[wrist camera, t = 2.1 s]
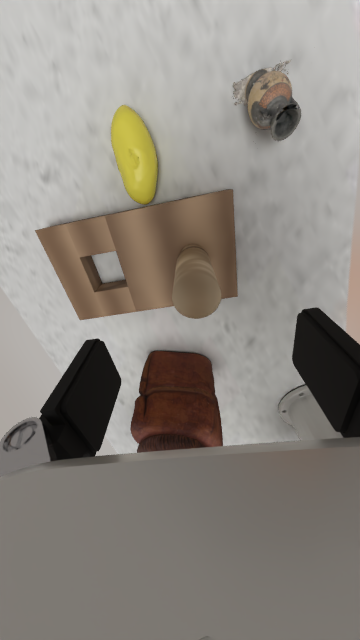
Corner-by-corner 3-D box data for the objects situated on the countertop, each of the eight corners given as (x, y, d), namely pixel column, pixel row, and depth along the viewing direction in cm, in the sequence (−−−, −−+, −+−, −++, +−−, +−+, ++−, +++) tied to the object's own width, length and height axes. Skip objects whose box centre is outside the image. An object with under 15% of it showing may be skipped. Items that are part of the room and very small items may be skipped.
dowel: (206, 238, 24) (219, 270, 14) (209, 269, 26) (222, 314, 16) (174, 244, 24) (167, 278, 15) (180, 274, 26) (177, 321, 17)
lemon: (129, 205, 25) (120, 208, 22) (111, 114, 21) (96, 100, 18) (164, 201, 25) (160, 203, 21) (152, 108, 21) (146, 92, 17)
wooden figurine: (147, 372, 39) (122, 489, 24) (147, 346, 36) (118, 461, 21) (210, 378, 40) (225, 496, 24) (216, 351, 36) (238, 470, 21)
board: (227, 189, 24) (232, 189, 21) (233, 287, 30) (237, 296, 27) (49, 226, 26) (35, 230, 24) (88, 309, 32) (80, 320, 30)
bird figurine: (293, 137, 21) (319, 125, 16) (238, 157, 23) (248, 152, 18) (291, 61, 19) (323, 19, 14) (229, 89, 20) (238, 60, 15)
